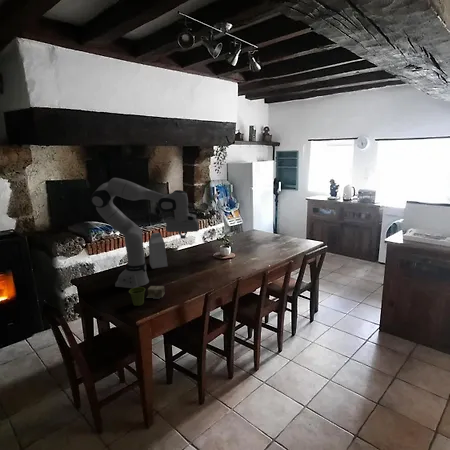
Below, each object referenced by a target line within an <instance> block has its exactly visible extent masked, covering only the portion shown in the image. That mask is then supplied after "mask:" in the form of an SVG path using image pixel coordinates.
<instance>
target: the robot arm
mask: <svg viewBox="0 0 450 450" xmlns="http://www.w3.org/2000/svg"><path fill="white" fill-rule="evenodd" d="M116 197H120V198H122V199H124V200H127V201H128V200H129V201H134V202H135V201H139V200H149V201H152V202H154V203H157V207H158V209H159V211H161V212H162V213H169V212H174V213H173V214H174V216H168V217H166V218H165V221H164V222H165V231H166V232H167V233H175V232H176V233H178V235H179V237H180V239H186V238H187V237H186V235H187V234H188V233H190V232H198V231H199V230H200V226H199V225H200V224H199V220H198V219H197V214H194V213H190V212H189V211H190V210H189V198H188V193H187V192H186V191H184V190H179V189H175V190H173V192H171V193H162V192H159V191H155V190H153V189H149V188H146V187H144V186H143V185H140V184H137V183H136V182H133V181H130V180H127V179H123V178H120V177H112V178H111V179H110V180H107V181H105V182H103V183H102V184H101V185H99V186H98V187H97V188H96V190H95V191H94V192H92V194H91V196H90V201H91V204H92V205H93V206H94V207H95V210H96V211H97V213H98V214H99V216H100V217H101V218H102V219H103V220H104V221H105V222H106V223H107V224H108V225H109V226H111V227H112V229H114V230H115V231H117V232H119V233H120V234H121V235H123V236H124V242H125V243H124V244H125V249H126V255H127V256H126V258H127V263H126V264H125V266H124V270H122V272H121V273H120V274H119V275H118V278H117V280H116V281H115V283H114V287H116V288H125V289H132V288H135V287H143V286H145V285H147V284H149V283H150V280H149V277H148V274H147V262H146V259H145V249H144V242H143V241H144V240H143V239H144V238H143V230H142V228H141V227H140V226H139V225H138V224H136V223H135V222H134V221H133V220H131V219H130V218H129V217H128V216H127V215H125V213H123V211H121V210H120V209H119V208H118V207H117V206H116V205H115V204H114V200H115V199H116ZM182 233H184V234H182Z"/></svg>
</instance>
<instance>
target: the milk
mask: <svg viewBox="0 0 450 450" xmlns="http://www.w3.org/2000/svg"><path fill="white" fill-rule="evenodd" d="M148 251H149V254H148V255H149V256H148V257H149V266H150V267H151V269H152V270H153V269H160V268H165V267H166V268H167V267H168V266H169V265H168V264H169V263H168V259H167V257H168V256H167V251H166V243H165V240H164V238H163V236H162V234H161V232H153V233H151V235H150V238H149V240H148Z"/></svg>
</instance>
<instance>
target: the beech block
mask: <svg viewBox="0 0 450 450" xmlns="http://www.w3.org/2000/svg"><path fill="white" fill-rule="evenodd" d="M165 291H166V290H165V285H150V286H149V287H148V288H147V296H148V297H161V298H163V297H164V295H165V293H166V292H165Z"/></svg>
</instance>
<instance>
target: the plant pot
mask: <svg viewBox="0 0 450 450" xmlns="http://www.w3.org/2000/svg"><path fill="white" fill-rule="evenodd" d="M128 293H129V294H130V297H131V298H130V299H131V301H132V304H133V306H135V307H139V306H143V305H144V303H145V293H146V288H145V287H143V286H139V287H135V288H129V290H128Z"/></svg>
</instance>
